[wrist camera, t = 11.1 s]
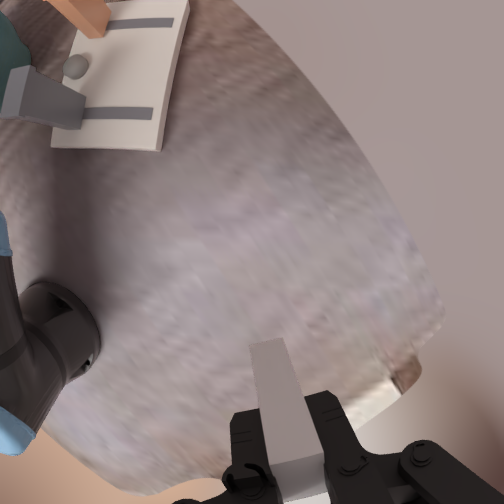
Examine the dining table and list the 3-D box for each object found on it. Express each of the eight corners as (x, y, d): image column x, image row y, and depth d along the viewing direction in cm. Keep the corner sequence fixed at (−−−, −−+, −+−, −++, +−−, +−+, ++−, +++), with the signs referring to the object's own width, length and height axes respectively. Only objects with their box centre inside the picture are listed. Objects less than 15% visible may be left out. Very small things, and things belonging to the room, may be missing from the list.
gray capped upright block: (65, 131, 28) (-1, 118, 16) (71, 96, 27) (10, 69, 15) (81, 131, 28) (18, 115, 16) (88, 95, 27) (30, 64, 15)
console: (61, 148, 31) (44, 146, 27) (94, 15, 27) (82, 1, 22) (160, 151, 33) (152, 148, 29) (190, 9, 28) (186, -8, 24)
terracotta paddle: (87, 40, 25) (38, -3, 13) (96, 12, 24) (56, -36, 12) (103, 38, 25) (59, -9, 13) (113, 10, 24) (76, -42, 12)
